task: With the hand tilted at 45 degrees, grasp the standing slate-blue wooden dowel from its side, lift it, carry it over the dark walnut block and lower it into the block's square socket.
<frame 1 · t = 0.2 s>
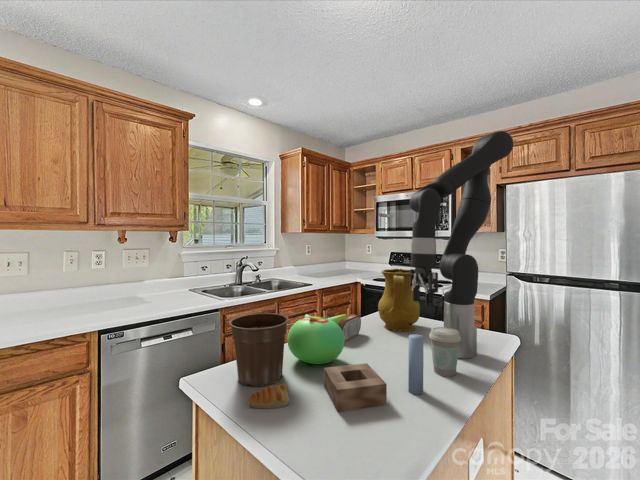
hand: (422, 303, 101), 18 cm above the countertop, tool pointing down, fingers open, 8 cm apart
plant pot: (259, 377, 89), on the countertop
dowel: (415, 391, 80), on the countertop
socket block: (353, 395, 79), on the countertop
pitcher: (397, 328, 134), on the countertop
green round piece: (316, 361, 100), on the countertop
tin: (349, 338, 121), on the countertop
pastry: (271, 403, 76), on the countertop
coffee cup: (444, 372, 91), on the countertop
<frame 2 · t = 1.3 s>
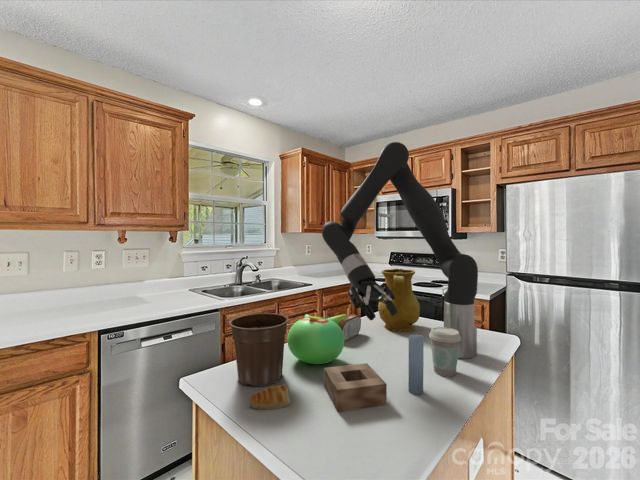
hand: (384, 316, 89), 17 cm above the countertop, tool tilted 45°, fingers open, 8 cm apart
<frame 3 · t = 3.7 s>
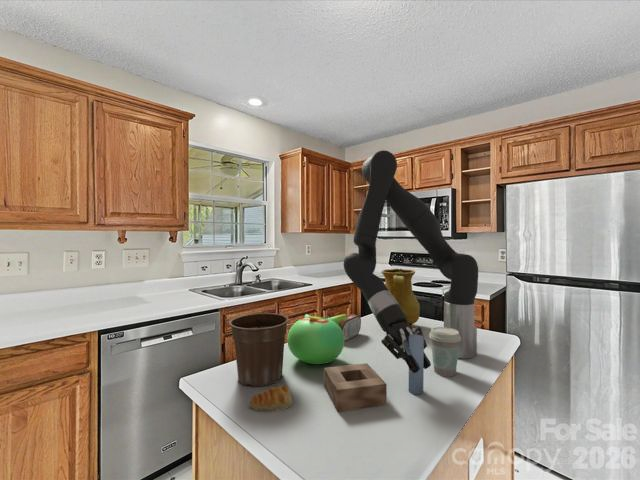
hand: (422, 369, 79), 6 cm above the countertop, tool tilted 45°, fingers closed on dowel, 3 cm apart
dowel: (415, 391, 80), on the countertop, touching gripper
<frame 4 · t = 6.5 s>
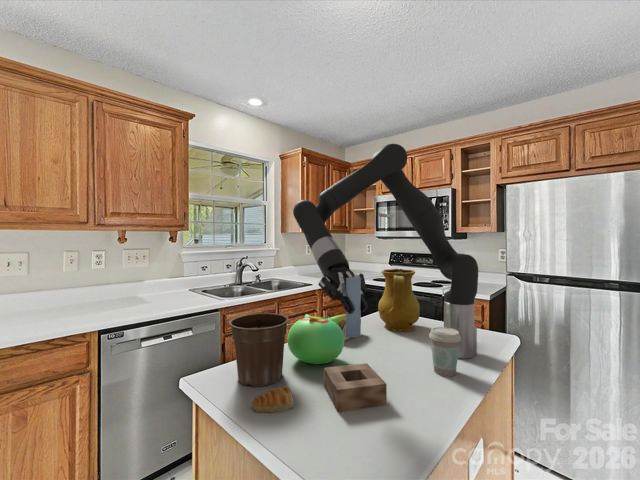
hand: (358, 310, 76), 22 cm above the countertop, tool tilted 45°, fingers closed on dowel, 3 cm apart
dowel: (353, 334, 78), point 15 cm above the countertop, touching gripper
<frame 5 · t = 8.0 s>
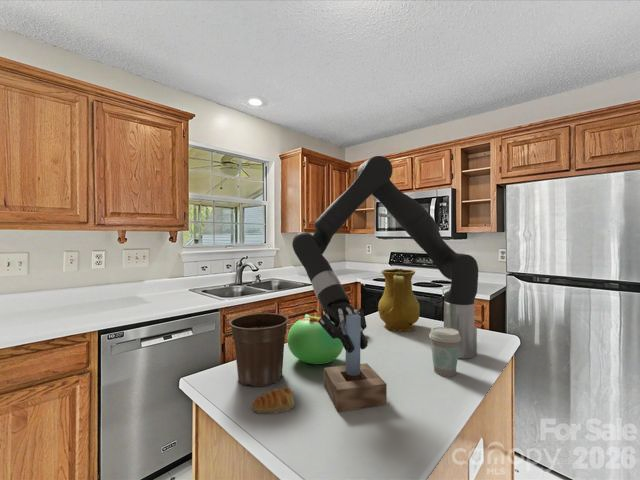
hand: (358, 349, 77), 12 cm above the countertop, tool tilted 45°, fingers closed on dowel, 3 cm apart
dowel: (352, 372, 78), point 6 cm above the countertop, touching gripper
when the fingers open (8 cm above the countertop, at t = 9.1 s): dowel drops 2 cm, resting in socket block.
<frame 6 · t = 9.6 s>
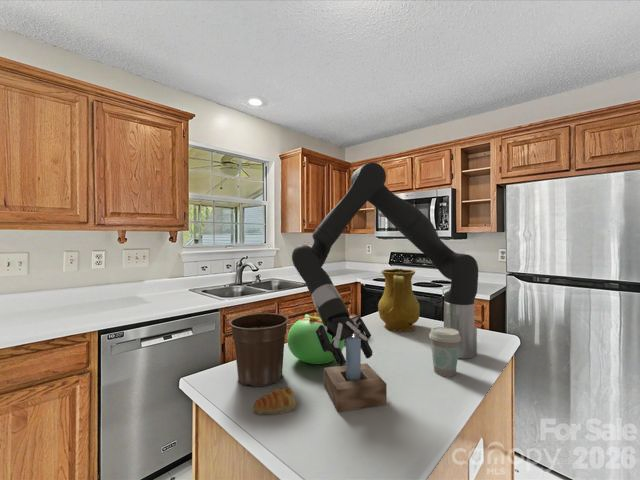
hand: (357, 360, 77), 9 cm above the countertop, tool tilted 45°, fingers open, 8 cm apart
dowel: (353, 395, 79), resting in socket block
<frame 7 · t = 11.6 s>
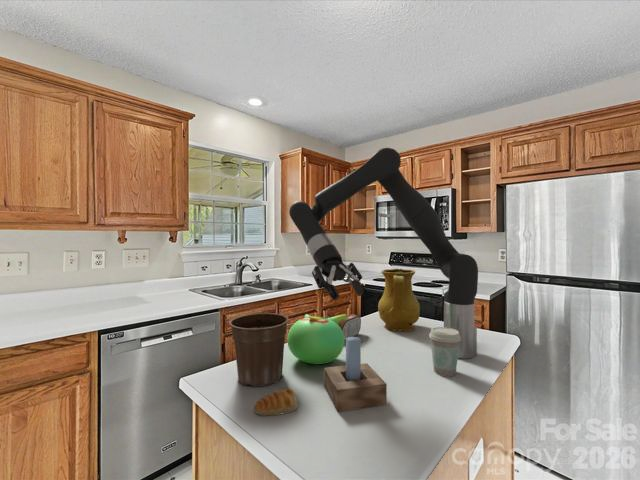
hand: (349, 296, 85), 23 cm above the countertop, tool tilted 45°, fingers open, 8 cm apart
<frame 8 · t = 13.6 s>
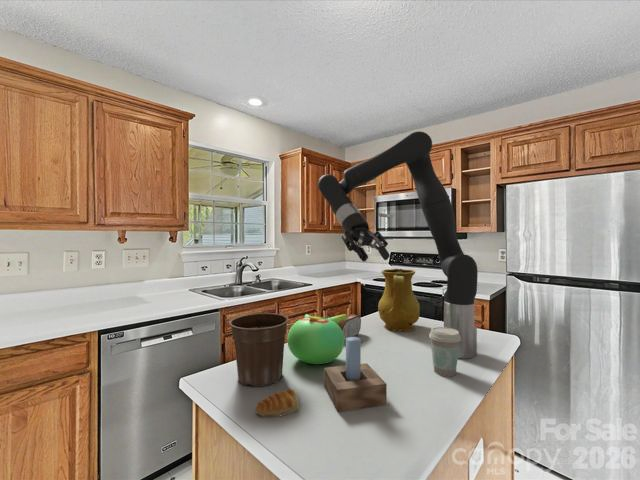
hand: (377, 258, 92), 33 cm above the countertop, tool tilted 45°, fingers open, 8 cm apart
at the end: dowel 0.1 cm off-centre on the socket block, point 0.0 cm above the socket block's base; dowel tilted 0°; the gripper is holding nothing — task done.
